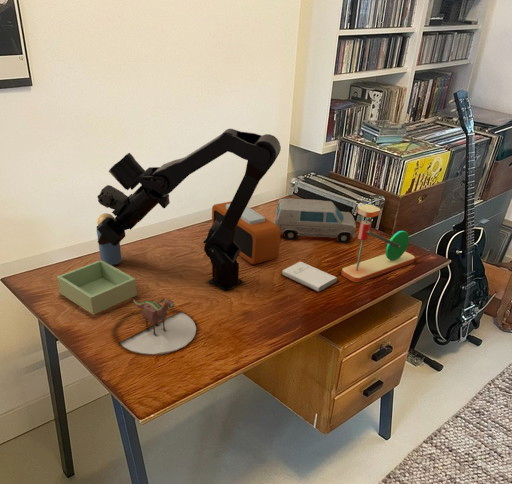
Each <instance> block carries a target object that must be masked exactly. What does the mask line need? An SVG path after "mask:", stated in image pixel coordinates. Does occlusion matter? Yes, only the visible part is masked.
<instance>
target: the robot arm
mask: <svg viewBox="0 0 512 484" xmlns="http://www.w3.org/2000/svg"><path fill="white" fill-rule="evenodd" d="M281 148H282V147H281V143H280V141H279V139H278V138H277V137H276V136H275V135H272V134H269V133H265V134H263V135H262V134H258V133H254V132H247V131H240V130H237V129H234V128H227V129H225V130H224V131H223V132H222V133H221V134H220V135H218V136H216V137H215V138H213V139H211V140H210V141H208V142H206V143H205V144H204V145H201V146H200V147H199V148H197V149H195V150H193V151H192V152H191V153H189V154H187V155H186V156H184V157H181V158H178V159H174V160H171V161H168V162H165V163H163V164H162V165H161V166H151V167H147V168H146V169H144V167H142V166H141V165H140V163H139V162H138V161H137V160H136V159H135V157H134V156H133V155H132V153H130V152H127V154H125V155H124V156H123V157H122V158H121V159H120V160H119V161H117V162H116V163H115V164H113V165H112V166H111V168H109V170H108V173H109V174H110V175H111V176H112V177H113V178H114V179H115V180H116V181H117V182H118V183H119V184H120V185H121V186H122V188H123V189H124V190H126V191H129V190H131V191H133V190H134V189H135V188H136V187H137V186H139V185H140V186H139V187H138V188H137V189H136V190H135V191H134V192H133V193H130V194H129V195H126V194H125V193H124V192H123V191H121V190H120V189H118V188H116V187H115V186H112V185H111V184H110V185H109V184H107V185H106V186H104V187H103V188H102V189H101V190H100V193H99V194H98V195H97V201H98V203H99V205H101V206H103V207H105V208H107V209H108V208H109V209H110V210H112V212H111V213H112V214H113V215H114V220H115V221H116V222H115V221H114V220H113V219H112V218H108V217H107V218H105V219H104V220H103V221H102V222H101V223H100V224H99V225H98V224H97V226H96V231H97V230H98V231H99V232H100V233H101V236H100V238H99V240H98V239H97V244H98V243H99V244H100V245H103V244H107V243H111V244H112V245H114V246H116V245H117V244H118V243H119V242H120V243H121V242H122V240H124V239H125V238H126V231H128V230H130V231H132V229H133V228H134V227H135V226H137V224H138V223H140V222H141V221H142V220H143V219H144V218H145V217H146V216H147V215H148V214H149V213H150V212H151V211H152V210H153V209H154V208H155V207H157V205H158V204H159V206H160V207H161V208H162V209H166V208H167V207H168V206H169V205H170V204H171V201H170V194H171V193H172V192H173V191H174V190H175V189H176V188H177V187H178V186H179V185H180V184H181V183H182V182H183V181H184V180H186V179H187V178H188V177H189V176H190V175H192V174H194V173H195V172H196V171H198V170H199V169H200V170H201V169H202V168H203V167H205V166H207V165H208V164H209V163H212V162H213V161H214V160H216V159H218V158H219V157H221V156H223V155H224V154H226V153H231V154H233V155H236V156H237V157H239V158H241V159H242V160H246V161H247V162H246V166H245V171H244V175H243V177H242V178H241V182H240V183H239V185H238V188H237V189H236V191H235V193H234V195H233V198H232V199H231V201H232V202H231V201H230V202H231V204H230V206H229V208H228V210H227V212H226V214H225V216H224V218H223V220H222V222H221V223H219V222H218V221H217V220H216V221H215V222H214V224H213V225H212V224H211V226H210V228H209V230H208V233H207V235H206V237H205V239H204V240H203V242H202V243H203V244H204V247H203V251H204V252H205V255H206V257H208V258H209V261H210V263H211V271H212V272H211V277H212V278H211V279H209V280H208V283H209V284H211V285H213V286H215V287H217V288H219V289H220V290H223V291H225V292H228V291H229V290H231V289H233V288H236V287H237V286H239V285H241V284H243V280H241V279H239V278H240V277H239V273H240V272H239V271H240V270H239V269H240V263H239V262H238V260H237V258H238V257H239V256H240V255H239V253H240V251H241V249H240V248H239V247H238V245H237V244H236V243H235V242H234V241H233V239H234V236H235V232H236V227H237V224H238V222H239V220H240V218H241V216H242V214H243V212H244V210H245V208H246V206H248V204H249V202H250V200H251V199H252V196H253V194H254V193H255V191H256V189H257V188H258V187H257V186H258V185H259V183H260V181H261V180H262V179H263V177H264V176H265V175H266V174H267V173H268V171H269V170H270V169H271V167H272V166H273V165H274V163H275V162H276V160H277V158H278V156H279V155H280V153H281V150H282V149H281ZM99 244H98V245H99Z"/></svg>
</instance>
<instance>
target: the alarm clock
mask: <svg viewBox="0 0 512 484" xmlns="http://www.w3.org/2000/svg"><path fill="white" fill-rule="evenodd" d="M231 202H232V200H231V201H227V202H222V203H221V202H220V203H215V204H213V205H212V207H211V226H212V225H213V224H214V222H215V221H216V220H217V221H218V222H219V223H221V222H222V220H223V218H224V216H225V214H226V212H227V210H228V208H229V206H230V204H231ZM281 236H282V235H281V234H280V229H279V227H278V226H277V225H276V224H274V221H272V220H270V219H268V218H266V217H265V216H264V215H262V214H261V213H259V212H257V211H256V210H254V209H252V208H251V207H249V206H248V205H247V206H246V208H245V210H244V212H243V214H242V216H241V218H240V220H239V222H238V224H237V227H236V232H235V236H234V239H233V241H234V242H235V243H236V244H237V245H238V247H239V248H240V249H241V251H240V253H239V255H238V256H240V257H241V258H242V259H244V260H245V261H246V262H248V263H249V264H250V265H257V264H260V263H264V262H268V261H271V260H275V259H278V257H279V255H280V247H281V246H280V245H281Z"/></svg>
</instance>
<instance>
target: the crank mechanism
mask: <svg viewBox="0 0 512 484" xmlns="http://www.w3.org/2000/svg"><path fill="white" fill-rule="evenodd" d="M356 212H357V214H358V215H360V216H362V217H364V218H365V219H364V220H361V221H360V223H359V228H358V233H357V239H359V240H360V246H359V251H358V252H359V253H358V257H357V262H356V263H353V264H350V265H348V266H345V267H343V268H342V269H341V274H340V275H341V276H343V277H344V278H346V279H347V280H349V281H351V282H353V283H361V282H364V281H367V280H370V279H372V278H375V277H378V276H381V275H383V274H386V273H389V272H391V271H395V270H397V269H400V268H404V267H405V266H408V265H411V264H414V263H415V259H416V257H415V256H414V255H413V254H411V253H409V252H407V249H408V245H409V241H410V236H409V233H408V232H407V231H405V230H398V231H397V232H396V233H394V234H393V235H392V236H391V238H389V239H388V238H386V237H384V236H381V235H379V234H378V233H375V232H373V231H371V226H372V223H371V221H369V220H368V219H369V218H374V217H378V216H379V215H380V214H381V213H380V212H381V208H380V207H379V206H376V205H374V204H362V205H359V206H357V211H356ZM369 236H371V237H374V238H376V239H377V240H380V241H381V242H384V243H387V245H386V247H385V253H383V254H380V255H377V256H374V257H371V258H369V259H366V260H363V261H361V257H362V251H363V246H364V241H368V240H369Z"/></svg>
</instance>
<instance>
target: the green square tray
mask: <svg viewBox="0 0 512 484" xmlns="http://www.w3.org/2000/svg"><path fill="white" fill-rule="evenodd" d="M56 279H57V285H58V290H59V293H60V294H61V295H62V296H64V297H65V298H67V299H69V300H70V301H71V302H73V303H75V304H76V305H78V306H79V307H81V308H82V309H83V310H85V311H87V312H89V313H90V314H91V315H96V314H98V313H100V312H103V311H105V310H108V309H110V308H111V307H114V306H116V305H118V304H120V303H123V302H125V301H127V300H130V299H131V298H132V299H133V298H134V297H136V296H137V295H138V291H137V281H136V279H137V278H135V277H133V276H131V275H129V274H128V273H126V272H124V271H123V270H121V269H119V268H117V267H115V266H114V265H110V264H108V263H106V262H104V261H102V260H101V259H99V260H97V261H94V262H91V263H89V264H86V265H84V266H81V267H78V268H75V269H72V270H71V271H68V272H65V273H63V274H59V275H57V276H56Z"/></svg>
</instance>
